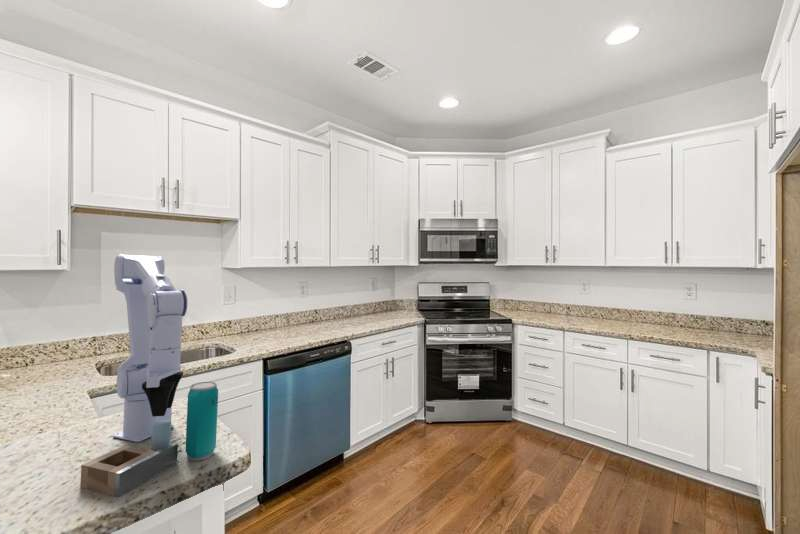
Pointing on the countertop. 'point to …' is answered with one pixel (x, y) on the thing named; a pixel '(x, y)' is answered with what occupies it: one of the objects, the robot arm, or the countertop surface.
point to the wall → (145, 469)
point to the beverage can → (201, 420)
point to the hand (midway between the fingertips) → (162, 411)
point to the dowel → (160, 435)
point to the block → (109, 468)
